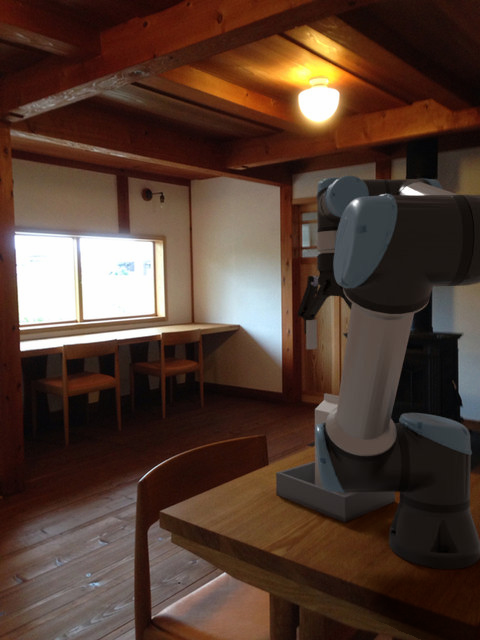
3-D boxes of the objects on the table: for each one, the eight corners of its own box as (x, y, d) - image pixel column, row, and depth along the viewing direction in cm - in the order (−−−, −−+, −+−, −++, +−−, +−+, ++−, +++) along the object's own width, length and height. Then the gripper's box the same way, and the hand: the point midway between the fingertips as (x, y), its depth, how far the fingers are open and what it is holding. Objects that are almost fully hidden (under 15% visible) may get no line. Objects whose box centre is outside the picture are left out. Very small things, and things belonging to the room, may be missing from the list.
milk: (335, 502, 117) (335, 399, 115) (314, 494, 121) (314, 395, 120) (354, 495, 120) (354, 395, 119) (333, 487, 125) (332, 391, 124)
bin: (394, 501, 119) (395, 478, 119) (344, 522, 108) (344, 497, 108) (326, 478, 134) (326, 457, 134) (276, 494, 123) (276, 472, 123)
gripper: (394, 249, 111) (394, 354, 112) (304, 256, 130) (304, 345, 131) (371, 248, 106) (371, 357, 107) (281, 255, 125) (282, 348, 126)
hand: (334, 351), depth 119 cm, fingers open, 13 cm apart
